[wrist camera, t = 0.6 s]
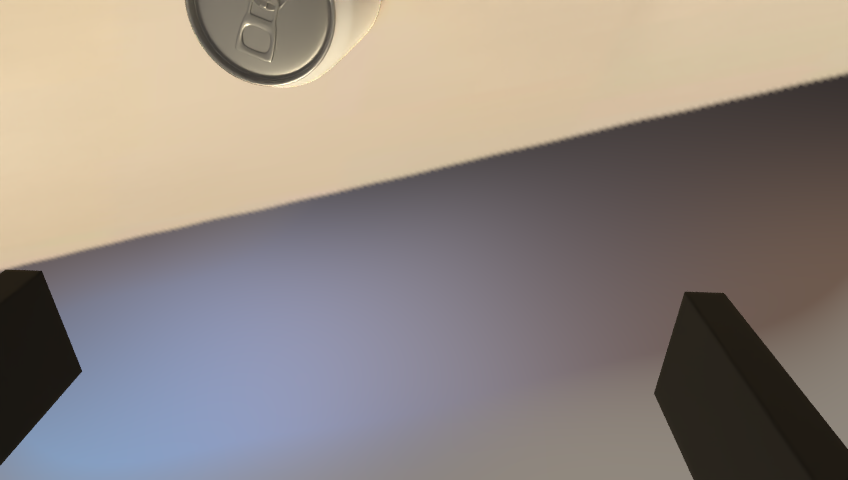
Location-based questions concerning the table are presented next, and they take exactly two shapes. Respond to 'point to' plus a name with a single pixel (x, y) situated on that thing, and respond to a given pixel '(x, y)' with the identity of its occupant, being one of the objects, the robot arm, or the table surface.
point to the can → (280, 36)
